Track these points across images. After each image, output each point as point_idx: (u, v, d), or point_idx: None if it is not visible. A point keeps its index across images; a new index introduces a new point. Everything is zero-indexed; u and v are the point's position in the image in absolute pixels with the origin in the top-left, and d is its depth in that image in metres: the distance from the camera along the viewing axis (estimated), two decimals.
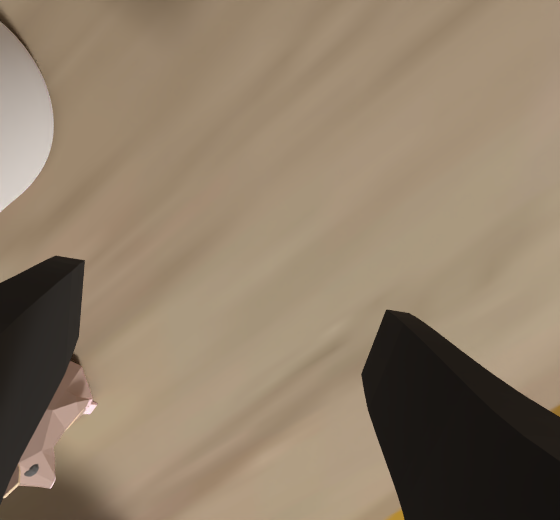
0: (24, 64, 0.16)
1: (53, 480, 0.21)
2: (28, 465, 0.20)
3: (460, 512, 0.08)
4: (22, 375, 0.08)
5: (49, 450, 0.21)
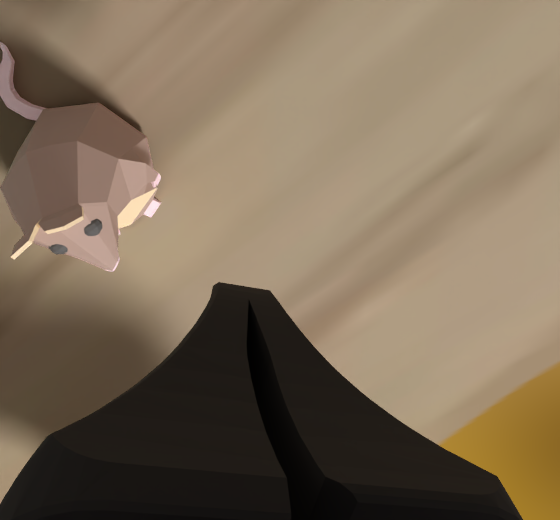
0: None
1: (117, 260, 0.16)
2: (90, 215, 0.15)
3: None
4: None
5: (113, 214, 0.16)
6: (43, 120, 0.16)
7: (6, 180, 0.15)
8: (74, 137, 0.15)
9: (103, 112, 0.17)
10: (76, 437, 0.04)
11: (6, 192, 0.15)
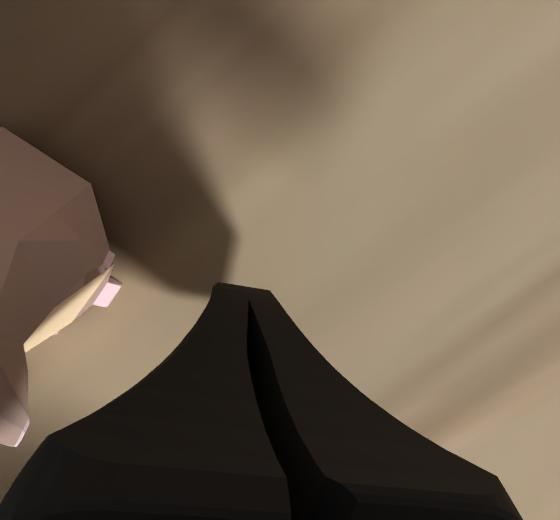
0: None
1: (23, 426, 0.09)
2: None
3: None
4: None
5: (11, 346, 0.08)
6: None
7: None
8: None
9: (7, 144, 0.10)
10: (75, 436, 0.04)
11: None
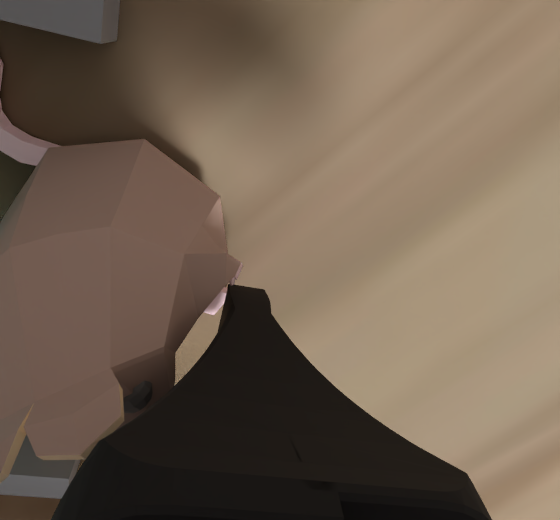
0: None
1: None
2: (132, 380, 0.07)
3: None
4: None
5: (171, 355, 0.08)
6: (47, 172, 0.09)
7: None
8: (104, 217, 0.08)
9: (152, 156, 0.10)
10: (126, 441, 0.05)
11: None
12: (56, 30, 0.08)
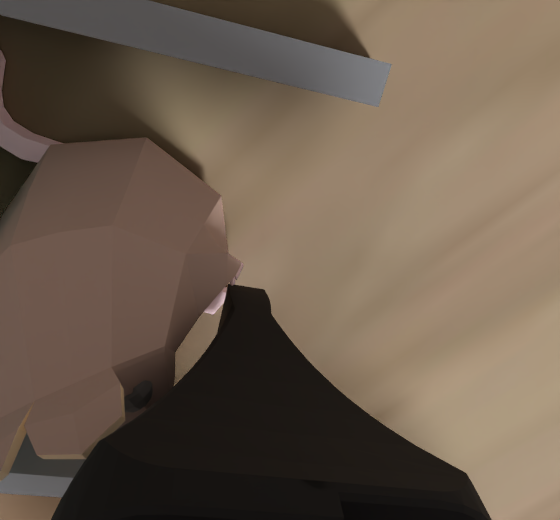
0: None
1: None
2: (132, 380, 0.07)
3: None
4: None
5: (171, 355, 0.08)
6: (49, 169, 0.09)
7: None
8: (106, 215, 0.08)
9: (155, 155, 0.10)
10: (128, 441, 0.05)
11: None
12: (343, 95, 0.09)
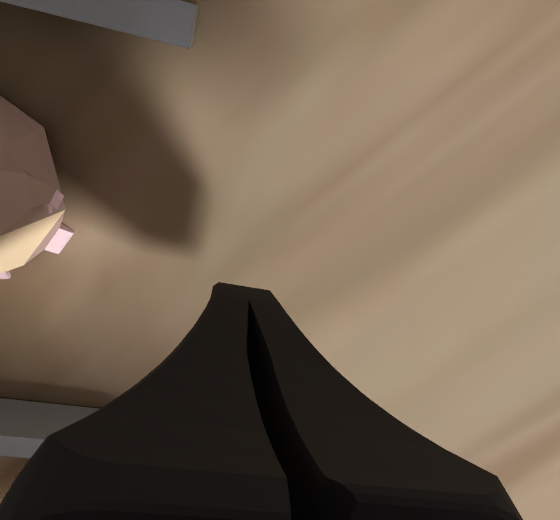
0: None
1: None
2: None
3: None
4: None
5: None
6: None
7: None
8: None
9: None
10: (75, 436, 0.04)
11: None
12: (151, 36, 0.09)
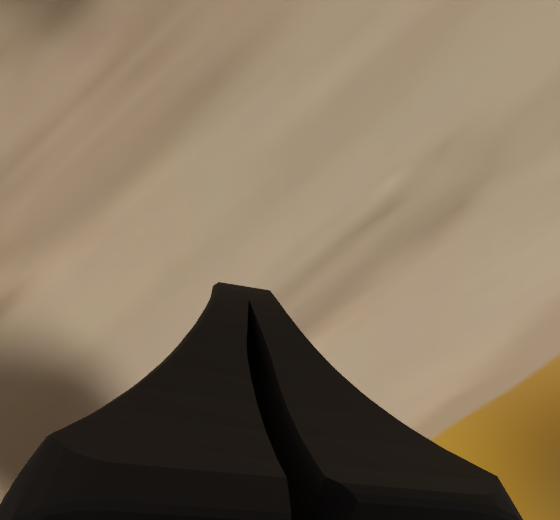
0: None
1: None
2: None
3: None
4: None
5: None
6: None
7: None
8: None
9: None
10: (76, 436, 0.04)
11: None
12: None
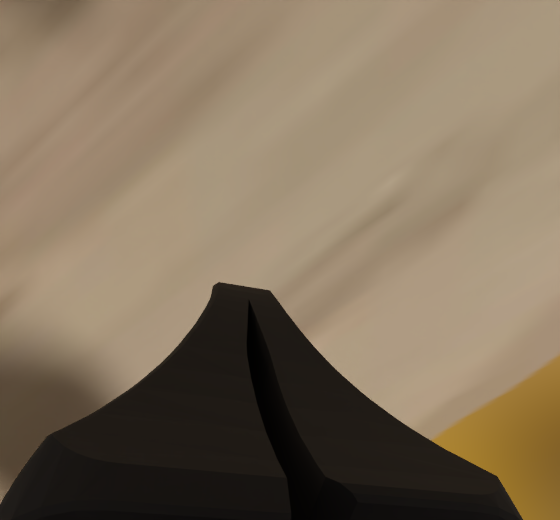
0: None
1: None
2: None
3: None
4: None
5: None
6: None
7: None
8: None
9: None
10: (76, 436, 0.04)
11: None
12: None
